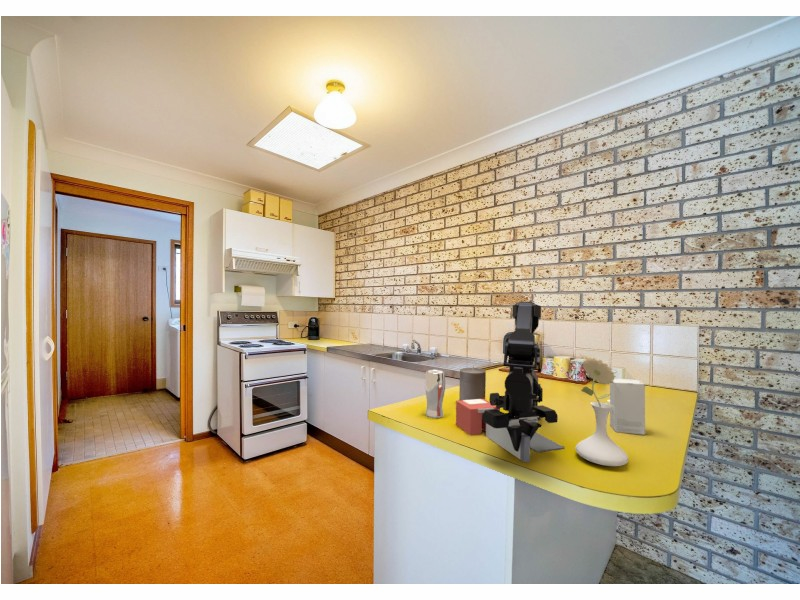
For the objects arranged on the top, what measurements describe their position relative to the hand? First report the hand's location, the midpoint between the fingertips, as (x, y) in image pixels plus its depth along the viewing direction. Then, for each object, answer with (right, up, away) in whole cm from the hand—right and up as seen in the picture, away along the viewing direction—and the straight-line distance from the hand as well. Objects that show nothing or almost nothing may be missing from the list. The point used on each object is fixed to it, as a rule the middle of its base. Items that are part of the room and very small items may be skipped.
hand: (519, 450), depth 85 cm
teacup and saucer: (+62, -5, +53) cm, 82 cm away
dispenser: (-6, -2, +19) cm, 20 cm away
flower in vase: (+20, -2, 0) cm, 20 cm away
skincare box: (+41, -3, +20) cm, 46 cm away
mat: (+7, -2, +13) cm, 15 cm away
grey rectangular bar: (-2, -2, +5) cm, 6 cm away
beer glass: (-18, -2, +31) cm, 36 cm away
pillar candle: (-3, -2, +42) cm, 42 cm away
